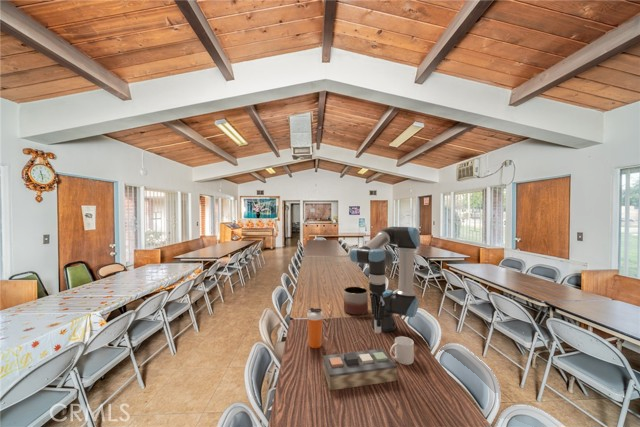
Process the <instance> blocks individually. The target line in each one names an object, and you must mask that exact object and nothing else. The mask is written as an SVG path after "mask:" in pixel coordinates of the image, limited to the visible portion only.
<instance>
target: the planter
mask: <svg viewBox="0 0 640 427" xmlns="http://www.w3.org/2000/svg"><path fill="white" fill-rule="evenodd" d="M368 293H369V292H368V289H367V288H366V287H362V286H348V287H345V288H344V289H343V310H344V312H345V313H347V314H349V315H353V316H354V315H355V316H360V315H361V316H362V315H366V313H368V311H369V309H368V308H369V307H368V306H369V303H368V302H369V300H368V299H369V297H368V296H369V294H368Z"/></svg>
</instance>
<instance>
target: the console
mask: <svg viewBox="0 0 640 427" xmlns="http://www.w3.org/2000/svg"><path fill="white" fill-rule="evenodd" d="M353 352H355V354H356V356H357V357H358V365H352V366H347V365H346V363H345V361H344V354H345V353H346V352H344V353H343V352H342V353H334V354H327V355H323V356H322V357H323V358H322V369H323V373H324V375H325V379H326V382H327V385H328V388H329V391H334V390H342V389H347V388H354V387H356V388H357V387H364V386H369V385H376V384H383V383H390V382H396V381H397V378H398V376H397V369H398V368H397V365H396V363H395V362H394V361H393V360H392V357H391V356H390V355H388V354H387V352H386V351H385V350H384V349H383V348H377V349H370V350H361V351H353ZM353 352H349V353H353ZM378 352H383V353H384V354H385V355H386V357H387V358H388V361H383V362H376V360H375V359H374V357H373V353H378ZM361 354H370V356H371V357H372V359H373V363H367V364H362V363H361V361H360V360H359V355H361ZM336 357H340V358H341V360H342V362H343V367H336V368H331V365H330V363H329V358H336ZM390 357H391V358H390Z"/></svg>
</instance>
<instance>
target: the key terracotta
mask: <svg viewBox="0 0 640 427" xmlns="http://www.w3.org/2000/svg"><path fill="white" fill-rule="evenodd" d="M329 363H330V365H331V368H336V367H343V362H342V360H341V358H340V357H336V358H329Z"/></svg>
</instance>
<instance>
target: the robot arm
mask: <svg viewBox="0 0 640 427" xmlns="http://www.w3.org/2000/svg"><path fill="white" fill-rule="evenodd" d="M389 245H393V246H396V248H397V249H398V251H399V255H398V256H399V257H398V262H399V263H398V285H397V286H398V288H397V290H396V291H395V293H394V291H393V290H391V289H387V287H386V285H387V284H386V282H387V281H386V277H387V275H386V274H387V273H386V267H388V266H390V265H392V264H393V263H394V261H395V254H394V252H393V251H392V250H390V249H383V247H385V246H389ZM419 246H421V237H420V233H419V230H418V229H417V228H416V227H413V226H389V227H385V228H383V229H382V230H380V231H378V232H377V233H376V234H375V235H374V236H373V238H372V239H370V240H369V241H368V242H366V243H364V244H363V245H362V246H361V247H360V248H357V247H354V248H352V249H351V250H350V252H349V257H350V258H349V259H350V261H351V262H353V263H356V264H366V265H368V279H369V280H368V281H369V283H368V284H369V285H368V289H369V291H370V293H369V298H370V307H371V315H373V316H372V320H371V327H372V328H373V329H374V333H375V334H380V333H390V332H394V331H395V330H396V329H397V328H396V326H397V324H396V321H395V318H394V314H395V315H399V316H404V317H406V318H407V317H409V318H414V317H416V315H417V312H418V308H419V301H420V300H419V298H418V297H417V296H416V293H415V292H414V269H415V268H414V266H415V265H414V263H415V251H417V250H418V247H419Z"/></svg>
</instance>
